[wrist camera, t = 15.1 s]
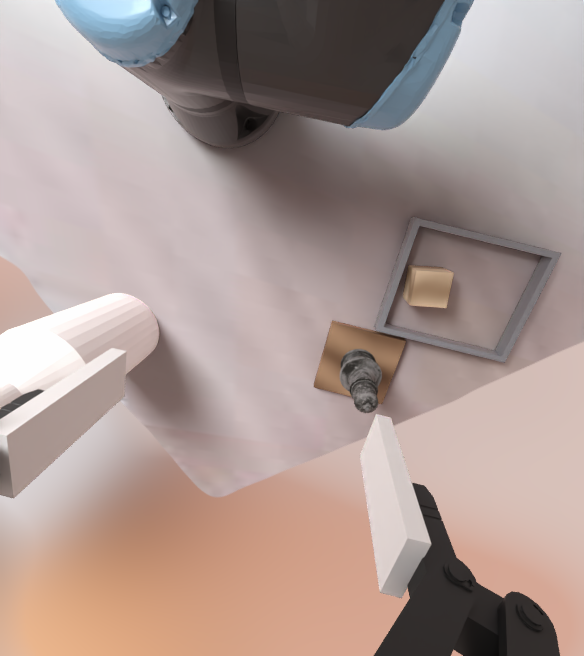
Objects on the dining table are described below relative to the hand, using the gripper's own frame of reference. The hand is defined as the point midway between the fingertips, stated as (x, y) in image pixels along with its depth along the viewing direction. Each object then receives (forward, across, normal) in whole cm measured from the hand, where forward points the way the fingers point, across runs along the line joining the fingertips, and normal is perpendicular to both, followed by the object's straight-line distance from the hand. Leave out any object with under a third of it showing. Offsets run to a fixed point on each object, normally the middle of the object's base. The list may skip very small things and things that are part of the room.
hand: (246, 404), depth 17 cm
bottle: (+32, -25, -14) cm, 43 cm away
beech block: (+32, +17, +4) cm, 36 cm away
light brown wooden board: (+32, +12, -10) cm, 35 cm away
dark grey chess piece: (+31, +12, -10) cm, 34 cm away
